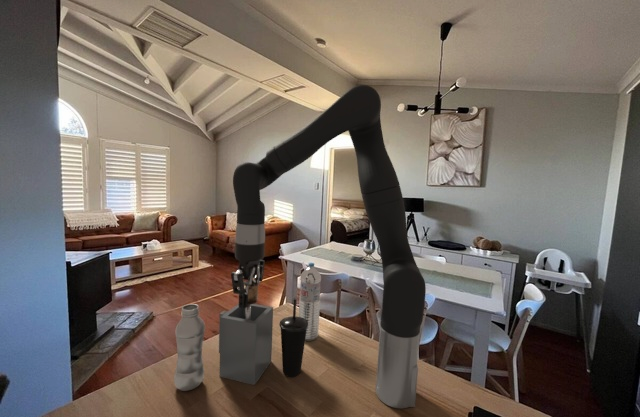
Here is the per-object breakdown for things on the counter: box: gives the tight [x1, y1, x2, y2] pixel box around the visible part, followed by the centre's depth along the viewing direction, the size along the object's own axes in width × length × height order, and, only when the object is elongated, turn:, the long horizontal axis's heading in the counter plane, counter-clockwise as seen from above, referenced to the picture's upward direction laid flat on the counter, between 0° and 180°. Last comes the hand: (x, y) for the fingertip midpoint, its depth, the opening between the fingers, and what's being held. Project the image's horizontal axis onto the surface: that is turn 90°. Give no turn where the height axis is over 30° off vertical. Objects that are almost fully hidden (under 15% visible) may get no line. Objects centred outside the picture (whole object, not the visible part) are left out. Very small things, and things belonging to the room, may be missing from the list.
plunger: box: [244, 283, 259, 320], centre depth 75 cm, size 7×7×20 cm
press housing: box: [218, 303, 274, 386], centre depth 76 cm, size 13×10×16 cm
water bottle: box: [298, 262, 322, 342], centre depth 93 cm, size 7×7×25 cm
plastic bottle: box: [173, 303, 206, 392], centre depth 68 cm, size 6×7×20 cm
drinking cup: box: [279, 299, 308, 378], centre depth 75 cm, size 8×8×20 cm
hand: (248, 302), depth 75 cm, fingers closed on plunger, 4 cm apart
